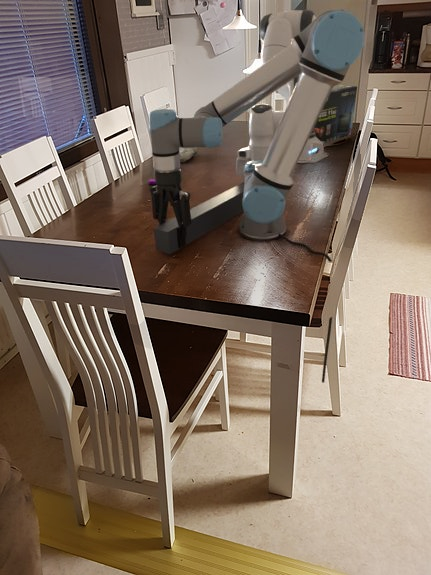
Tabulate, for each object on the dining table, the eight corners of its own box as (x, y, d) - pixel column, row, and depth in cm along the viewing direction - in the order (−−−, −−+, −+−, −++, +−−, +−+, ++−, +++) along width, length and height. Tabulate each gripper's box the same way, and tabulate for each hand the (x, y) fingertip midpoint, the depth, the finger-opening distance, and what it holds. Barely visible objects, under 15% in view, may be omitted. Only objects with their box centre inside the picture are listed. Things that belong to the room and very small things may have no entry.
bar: (170, 254, 135) (167, 232, 132) (156, 250, 138) (153, 228, 135) (273, 193, 177) (274, 175, 174) (261, 191, 180) (261, 172, 176)
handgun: (149, 183, 197) (148, 178, 196) (167, 181, 198) (166, 176, 197) (152, 198, 180) (152, 194, 179) (172, 196, 181) (171, 191, 180)
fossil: (184, 156, 217) (163, 136, 220) (174, 174, 223) (154, 154, 227) (205, 153, 231) (186, 134, 234) (195, 171, 237) (176, 152, 240)
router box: (314, 151, 231) (318, 94, 217) (296, 148, 237) (299, 92, 224) (352, 138, 251) (358, 85, 238) (335, 135, 258) (340, 83, 245)
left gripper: (201, 170, 126) (205, 246, 138) (151, 161, 135) (159, 232, 147) (184, 177, 121) (190, 256, 133) (133, 167, 130) (143, 241, 142)
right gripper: (290, 154, 163) (288, 191, 170) (242, 147, 174) (242, 182, 181) (282, 158, 159) (280, 196, 166) (233, 151, 170) (233, 187, 177)
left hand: (174, 243), depth 140 cm, fingers closed on bar, 6 cm apart
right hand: (260, 189), depth 174 cm, fingers closed on bar, 5 cm apart
